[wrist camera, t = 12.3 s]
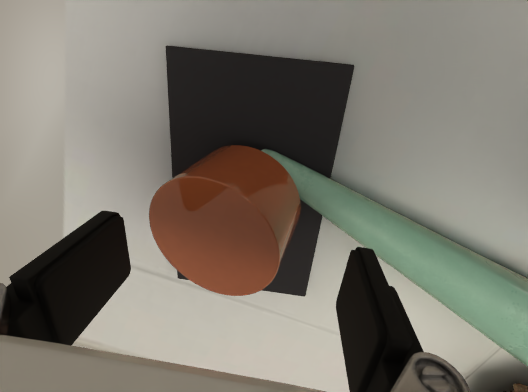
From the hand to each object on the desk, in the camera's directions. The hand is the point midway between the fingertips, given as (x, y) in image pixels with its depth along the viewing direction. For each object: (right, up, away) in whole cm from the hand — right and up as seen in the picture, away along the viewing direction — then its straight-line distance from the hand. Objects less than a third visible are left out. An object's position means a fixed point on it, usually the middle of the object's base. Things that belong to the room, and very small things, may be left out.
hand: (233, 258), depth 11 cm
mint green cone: (+13, 0, +5) cm, 14 cm away
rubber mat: (0, +3, +7) cm, 8 cm away
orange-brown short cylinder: (0, +2, +6) cm, 6 cm away
